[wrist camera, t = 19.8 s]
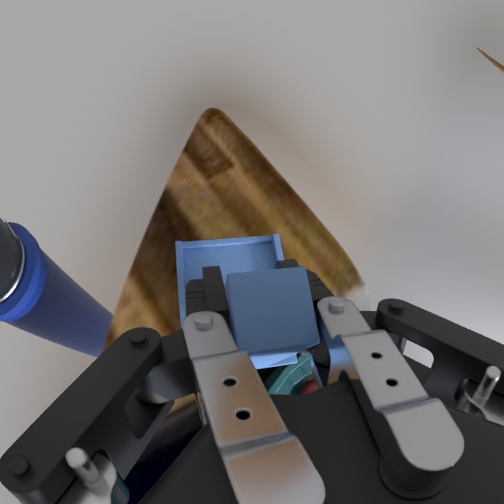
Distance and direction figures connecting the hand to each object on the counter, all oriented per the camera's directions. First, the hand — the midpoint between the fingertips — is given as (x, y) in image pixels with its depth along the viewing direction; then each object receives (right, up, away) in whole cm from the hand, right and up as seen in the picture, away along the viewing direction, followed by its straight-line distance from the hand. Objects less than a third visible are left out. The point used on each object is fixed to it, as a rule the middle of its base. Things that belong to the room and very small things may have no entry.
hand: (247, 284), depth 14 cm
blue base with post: (-1, -2, +7) cm, 7 cm away
